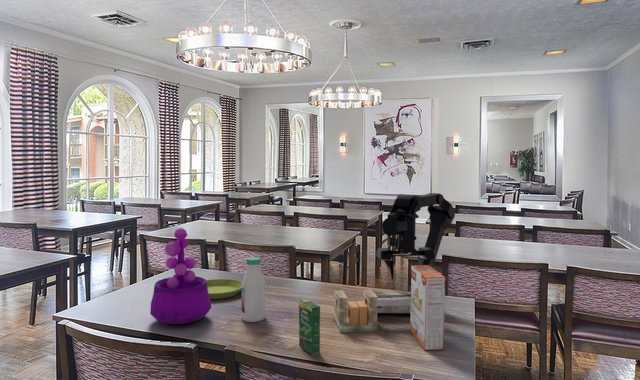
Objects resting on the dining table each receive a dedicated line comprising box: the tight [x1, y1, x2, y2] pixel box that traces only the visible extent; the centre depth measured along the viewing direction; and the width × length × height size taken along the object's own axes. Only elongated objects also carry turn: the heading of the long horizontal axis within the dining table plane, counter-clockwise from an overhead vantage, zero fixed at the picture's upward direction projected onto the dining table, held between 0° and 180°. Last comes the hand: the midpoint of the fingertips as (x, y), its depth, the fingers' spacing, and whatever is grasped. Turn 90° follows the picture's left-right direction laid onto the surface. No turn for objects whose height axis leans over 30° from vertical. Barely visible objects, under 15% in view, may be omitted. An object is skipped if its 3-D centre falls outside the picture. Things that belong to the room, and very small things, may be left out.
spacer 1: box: [347, 300, 359, 326], centre depth 143 cm, size 2×6×6 cm, turn 7°
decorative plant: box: [149, 227, 212, 325], centre depth 144 cm, size 19×18×30 cm
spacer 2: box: [355, 300, 368, 325], centre depth 144 cm, size 2×6×6 cm, turn 7°
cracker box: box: [409, 264, 446, 351], centre depth 131 cm, size 14×6×21 cm, turn 5°
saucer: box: [205, 278, 242, 300], centre depth 175 cm, size 21×21×3 cm
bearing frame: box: [332, 289, 380, 334], centre depth 143 cm, size 12×12×10 cm
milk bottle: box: [241, 256, 266, 323], centre depth 147 cm, size 8×8×20 cm
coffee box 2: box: [298, 299, 321, 357], centre depth 124 cm, size 8×3×13 cm, turn 28°
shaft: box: [377, 297, 411, 306], centre depth 145 cm, size 20×3×10 cm, turn 99°
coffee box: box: [372, 290, 411, 314], centre depth 155 cm, size 9×6×16 cm
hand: (405, 278), depth 150 cm, fingers open, 9 cm apart
